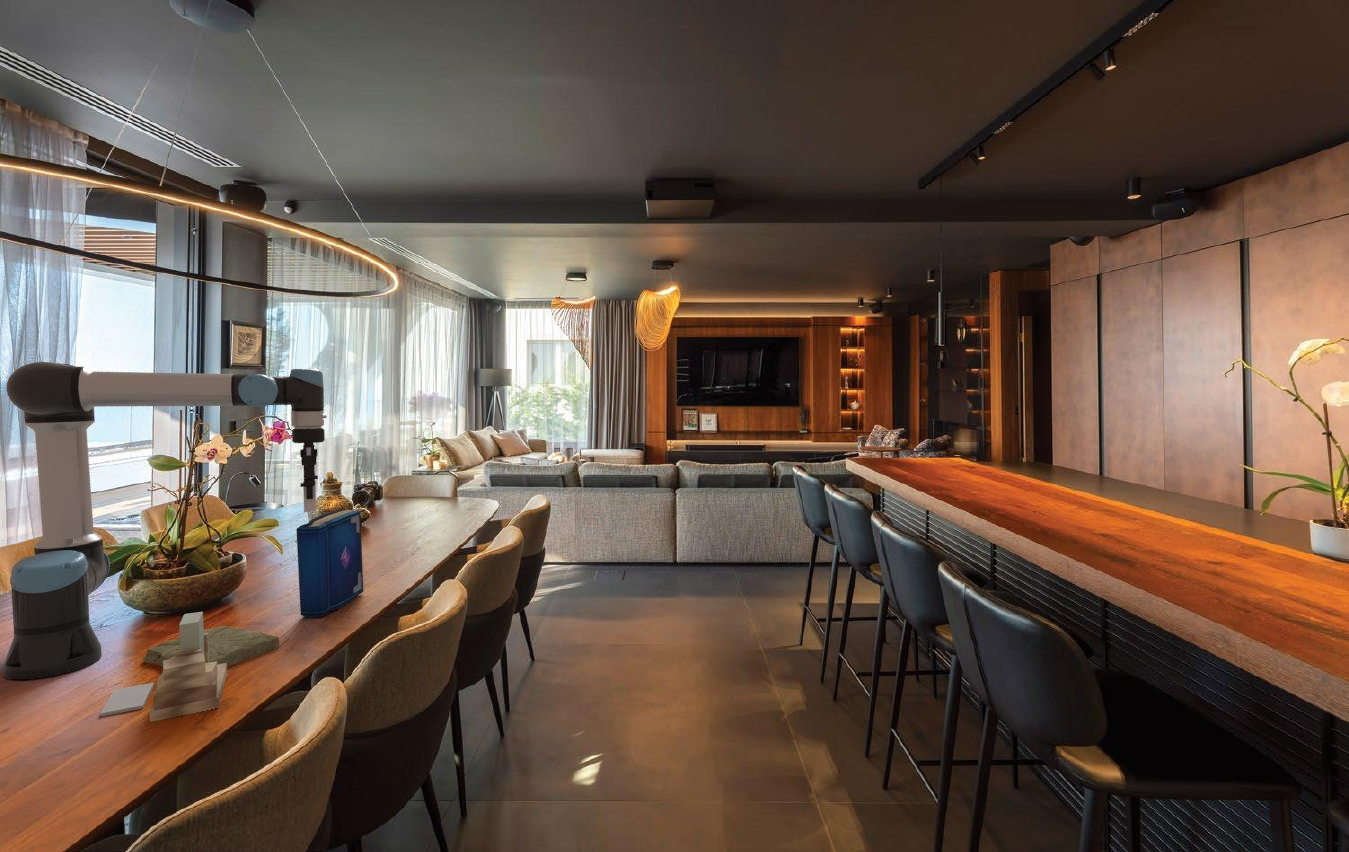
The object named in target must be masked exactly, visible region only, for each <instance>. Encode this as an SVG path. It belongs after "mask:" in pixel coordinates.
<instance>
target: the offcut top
mask: <svg viewBox="0 0 1349 852" xmlns="http://www.w3.org/2000/svg"><path fill="white" fill-rule="evenodd" d="M162 668H163V670H162V672H164V681H165V680H169V679H174V678H178V677H183V676H188V675H192V674H197V673H202V672H205V658H204V653H199V654H194V655H189V656H184V657H179V658H174V659H169V660H164V661H163V667H162Z"/></svg>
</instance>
